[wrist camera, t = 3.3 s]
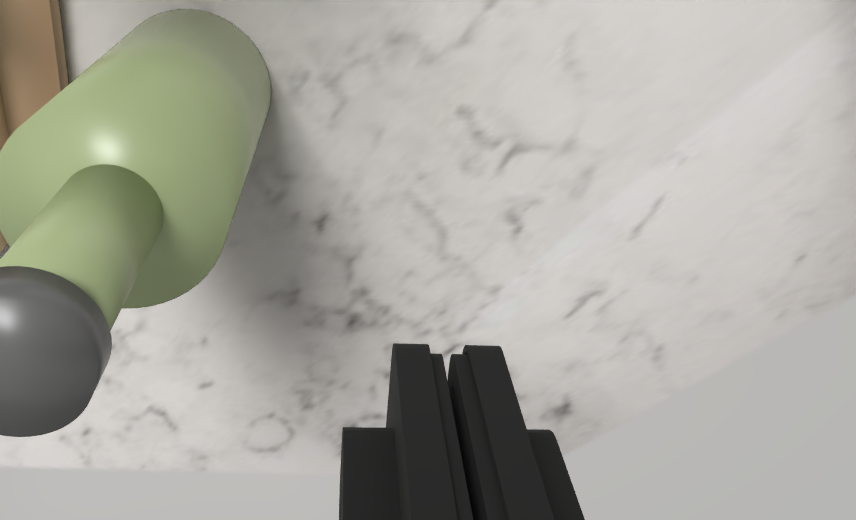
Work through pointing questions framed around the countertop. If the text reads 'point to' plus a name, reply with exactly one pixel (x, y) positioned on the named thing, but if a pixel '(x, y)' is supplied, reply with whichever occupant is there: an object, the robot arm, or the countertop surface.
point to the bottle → (119, 202)
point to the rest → (28, 62)
